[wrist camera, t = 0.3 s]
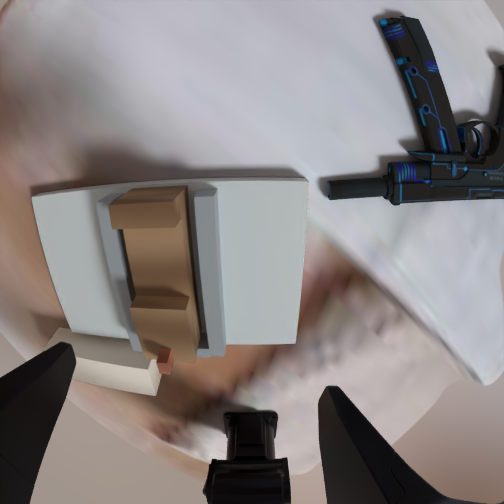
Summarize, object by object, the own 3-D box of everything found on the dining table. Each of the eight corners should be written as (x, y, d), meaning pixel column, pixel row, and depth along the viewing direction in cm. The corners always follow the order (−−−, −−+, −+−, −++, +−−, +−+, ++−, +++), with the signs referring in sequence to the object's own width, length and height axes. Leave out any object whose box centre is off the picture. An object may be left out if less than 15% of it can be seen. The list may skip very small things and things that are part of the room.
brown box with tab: (201, 328, 24) (192, 377, 19) (157, 326, 24) (139, 372, 19) (187, 185, 19) (165, 209, 14) (132, 188, 19) (96, 213, 14)
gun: (303, 16, 16) (325, 206, 22) (308, 3, 13) (333, 218, 20) (522, 60, 14) (526, 196, 20) (540, 59, 11) (543, 205, 17)
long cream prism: (164, 367, 29) (155, 396, 25) (70, 351, 28) (57, 375, 25) (158, 340, 27) (147, 369, 23) (60, 325, 27) (43, 348, 23)
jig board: (293, 334, 26) (298, 359, 23) (76, 325, 26) (63, 344, 23) (305, 178, 20) (315, 188, 17) (39, 193, 20) (17, 204, 17)
